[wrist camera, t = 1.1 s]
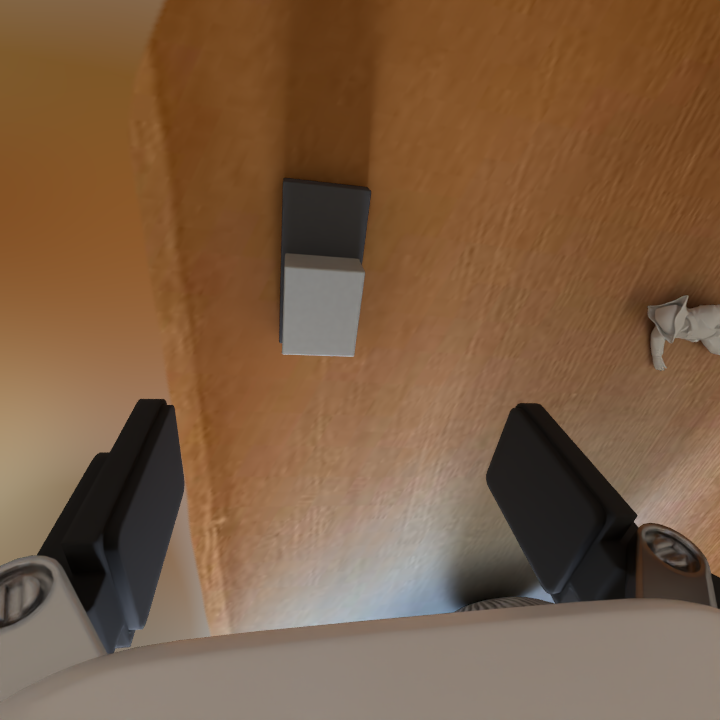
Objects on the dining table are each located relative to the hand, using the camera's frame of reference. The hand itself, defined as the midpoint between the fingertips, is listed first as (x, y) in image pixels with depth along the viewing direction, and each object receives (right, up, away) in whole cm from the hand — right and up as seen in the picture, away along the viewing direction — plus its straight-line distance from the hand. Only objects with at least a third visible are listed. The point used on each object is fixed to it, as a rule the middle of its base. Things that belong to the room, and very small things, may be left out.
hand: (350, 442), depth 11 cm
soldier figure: (+25, +5, +18) cm, 31 cm away
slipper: (-2, +8, +12) cm, 14 cm away
